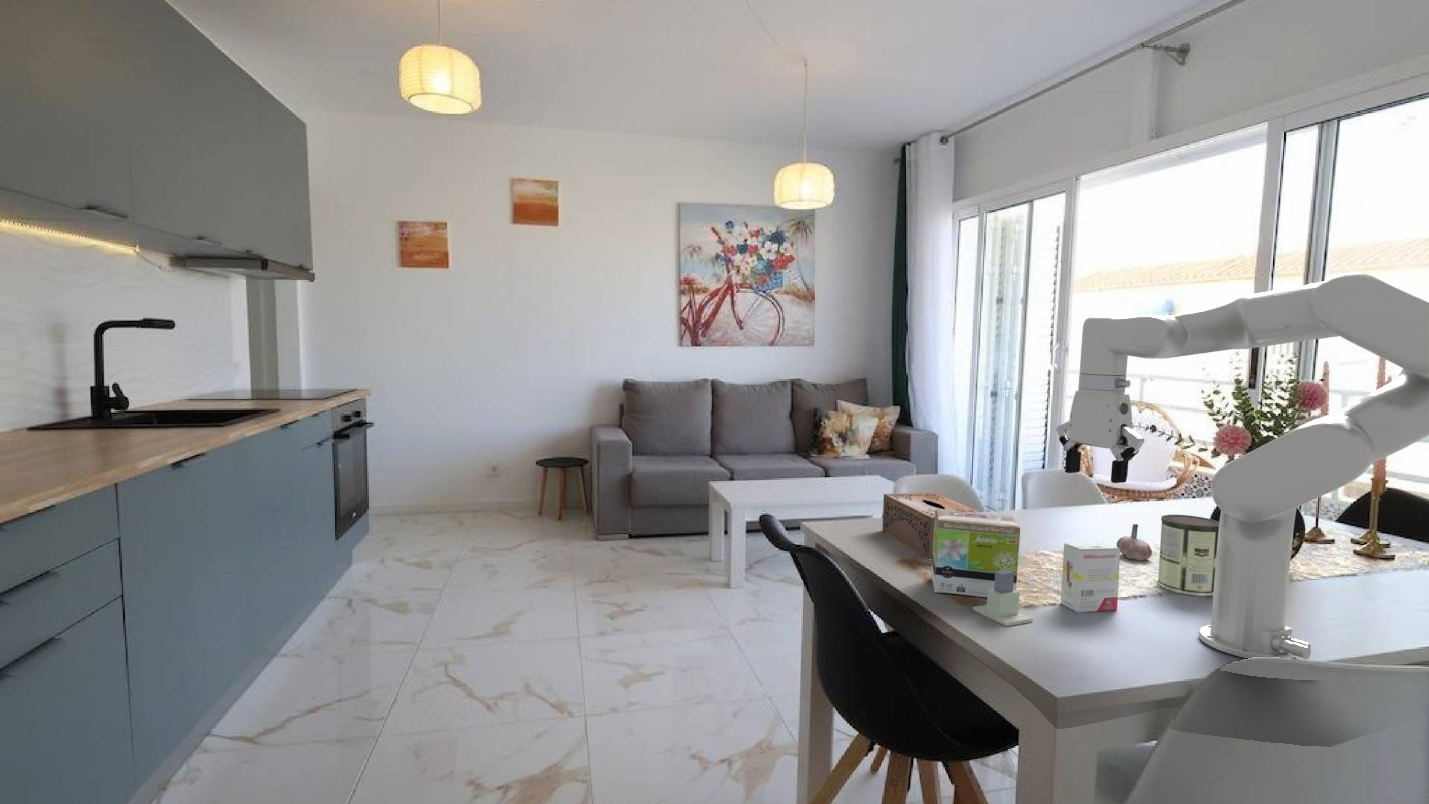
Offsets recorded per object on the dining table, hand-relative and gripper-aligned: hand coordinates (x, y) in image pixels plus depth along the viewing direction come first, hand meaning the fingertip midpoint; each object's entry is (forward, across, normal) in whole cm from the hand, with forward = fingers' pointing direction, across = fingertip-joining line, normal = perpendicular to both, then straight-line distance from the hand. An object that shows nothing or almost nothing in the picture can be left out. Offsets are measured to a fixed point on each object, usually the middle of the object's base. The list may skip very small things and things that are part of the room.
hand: (1094, 477), depth 131 cm
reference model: (+24, +1, +19) cm, 31 cm away
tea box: (+25, +14, +14) cm, 32 cm away
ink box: (+25, -1, 0) cm, 25 cm away
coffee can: (+24, 0, -29) cm, 38 cm away
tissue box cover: (+25, +44, -1) cm, 51 cm away
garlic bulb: (+25, +19, -39) cm, 50 cm away
